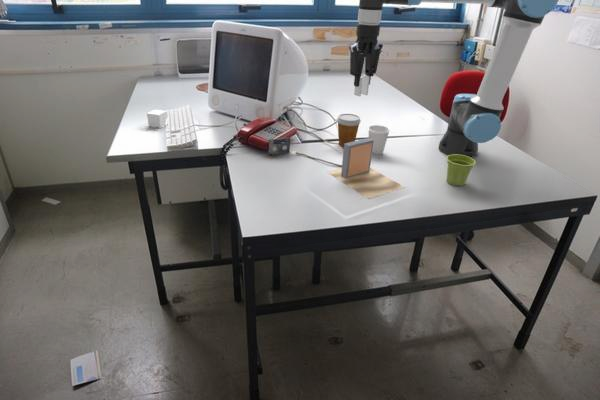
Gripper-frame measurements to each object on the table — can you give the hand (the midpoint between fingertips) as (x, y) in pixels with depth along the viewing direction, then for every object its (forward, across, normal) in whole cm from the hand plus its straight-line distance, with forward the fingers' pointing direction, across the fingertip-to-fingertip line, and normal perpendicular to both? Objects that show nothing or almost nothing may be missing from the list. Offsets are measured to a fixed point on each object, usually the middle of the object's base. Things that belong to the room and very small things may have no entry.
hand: (360, 94), depth 145 cm
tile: (+24, +10, +12) cm, 28 cm away
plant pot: (+25, -18, +34) cm, 45 cm away
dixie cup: (+25, -11, 0) cm, 27 cm away
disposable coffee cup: (+25, -6, -12) cm, 28 cm away
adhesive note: (+25, +54, -70) cm, 92 cm away
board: (+25, +10, +17) cm, 31 cm away
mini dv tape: (+25, +23, -18) cm, 38 cm away
